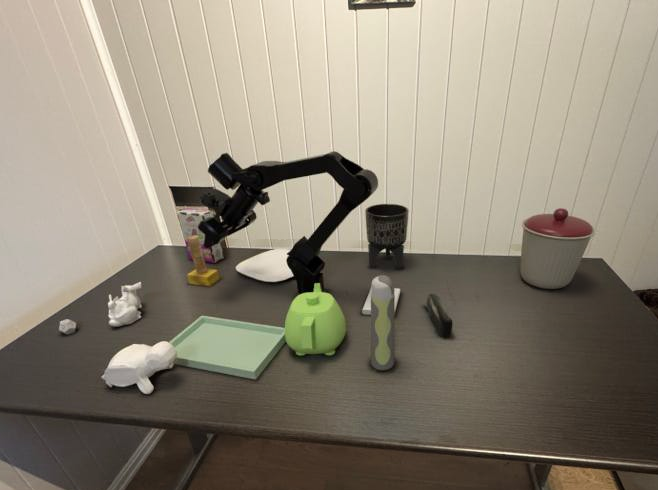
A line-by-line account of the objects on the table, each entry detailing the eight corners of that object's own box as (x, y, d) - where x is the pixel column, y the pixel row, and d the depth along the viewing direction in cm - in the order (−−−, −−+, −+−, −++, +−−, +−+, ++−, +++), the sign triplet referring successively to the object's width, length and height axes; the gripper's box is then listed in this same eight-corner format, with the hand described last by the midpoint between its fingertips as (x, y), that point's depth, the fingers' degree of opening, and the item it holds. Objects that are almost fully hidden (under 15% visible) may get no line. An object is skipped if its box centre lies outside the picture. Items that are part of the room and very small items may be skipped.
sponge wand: (219, 279, 114) (208, 234, 106) (209, 286, 110) (197, 241, 102) (200, 276, 115) (187, 233, 108) (189, 283, 111) (175, 239, 104)
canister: (591, 284, 106) (615, 210, 95) (553, 303, 98) (575, 224, 87) (535, 263, 119) (551, 196, 108) (497, 278, 111) (510, 207, 100)
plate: (279, 250, 133) (278, 245, 132) (325, 264, 122) (325, 259, 121) (228, 272, 118) (226, 267, 117) (275, 290, 107) (274, 284, 106)
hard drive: (400, 293, 104) (394, 317, 93) (371, 291, 105) (362, 314, 95) (400, 288, 103) (394, 311, 93) (371, 286, 104) (361, 308, 94)
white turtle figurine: (117, 403, 74) (175, 386, 70) (85, 372, 70) (145, 352, 66) (143, 374, 81) (197, 357, 77) (116, 344, 77) (172, 325, 73)
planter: (369, 255, 127) (368, 203, 117) (407, 257, 125) (409, 204, 116) (363, 272, 116) (362, 215, 107) (405, 274, 114) (407, 216, 105)
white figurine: (138, 304, 101) (125, 272, 96) (162, 307, 100) (151, 274, 95) (103, 329, 91) (87, 294, 86) (130, 332, 90) (115, 297, 85)
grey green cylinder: (371, 356, 80) (369, 272, 70) (393, 356, 80) (395, 272, 70) (370, 371, 76) (368, 284, 66) (394, 371, 76) (396, 284, 65)
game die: (57, 334, 90) (51, 324, 88) (72, 326, 93) (67, 316, 91) (67, 337, 89) (61, 327, 87) (82, 329, 91) (77, 319, 90)
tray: (290, 335, 87) (289, 328, 86) (255, 379, 75) (254, 371, 74) (204, 322, 93) (201, 315, 92) (158, 361, 80) (155, 353, 79)
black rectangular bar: (455, 320, 83) (434, 287, 95) (442, 321, 83) (423, 288, 95) (453, 338, 86) (432, 304, 98) (440, 339, 85) (421, 305, 98)
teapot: (295, 319, 93) (289, 273, 87) (349, 318, 93) (346, 273, 87) (278, 372, 76) (268, 320, 70) (343, 371, 76) (340, 320, 70)
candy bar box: (225, 258, 127) (214, 210, 119) (215, 263, 123) (202, 214, 115) (199, 253, 131) (187, 207, 122) (189, 259, 127) (175, 211, 118)
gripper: (238, 171, 101) (213, 210, 110) (193, 187, 86) (168, 231, 94) (269, 202, 103) (242, 237, 112) (231, 223, 88) (203, 262, 96)
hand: (215, 241), depth 103 cm, fingers open, 9 cm apart
